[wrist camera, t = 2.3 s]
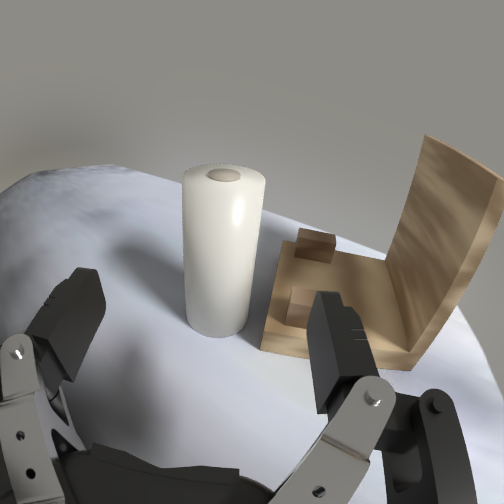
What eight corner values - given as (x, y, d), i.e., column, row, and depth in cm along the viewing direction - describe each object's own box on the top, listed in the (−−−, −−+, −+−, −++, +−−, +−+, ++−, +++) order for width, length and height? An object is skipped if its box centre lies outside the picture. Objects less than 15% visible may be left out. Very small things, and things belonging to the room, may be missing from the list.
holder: (259, 350, 24) (301, 117, 14) (279, 258, 35) (305, 103, 25) (410, 370, 22) (512, 185, 12) (388, 279, 34) (436, 138, 24)
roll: (177, 328, 25) (168, 181, 17) (197, 289, 29) (199, 158, 22) (240, 344, 24) (258, 194, 17) (252, 300, 29) (271, 168, 21)
